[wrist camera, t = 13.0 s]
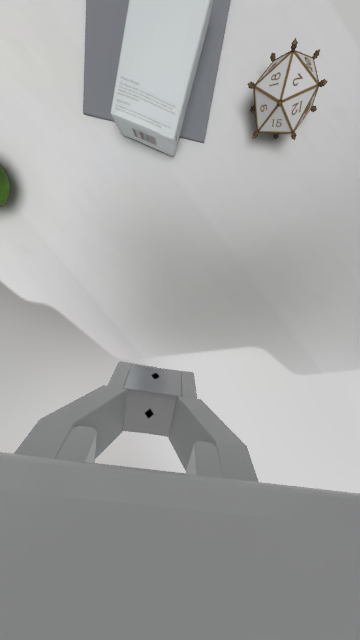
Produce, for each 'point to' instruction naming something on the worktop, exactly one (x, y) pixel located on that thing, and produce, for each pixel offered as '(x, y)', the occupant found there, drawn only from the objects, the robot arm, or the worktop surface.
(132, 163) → the worktop surface
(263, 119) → the game die
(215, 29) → the mat
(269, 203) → the worktop surface
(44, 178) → the worktop surface
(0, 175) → the fruit
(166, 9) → the skincare box
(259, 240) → the worktop surface
